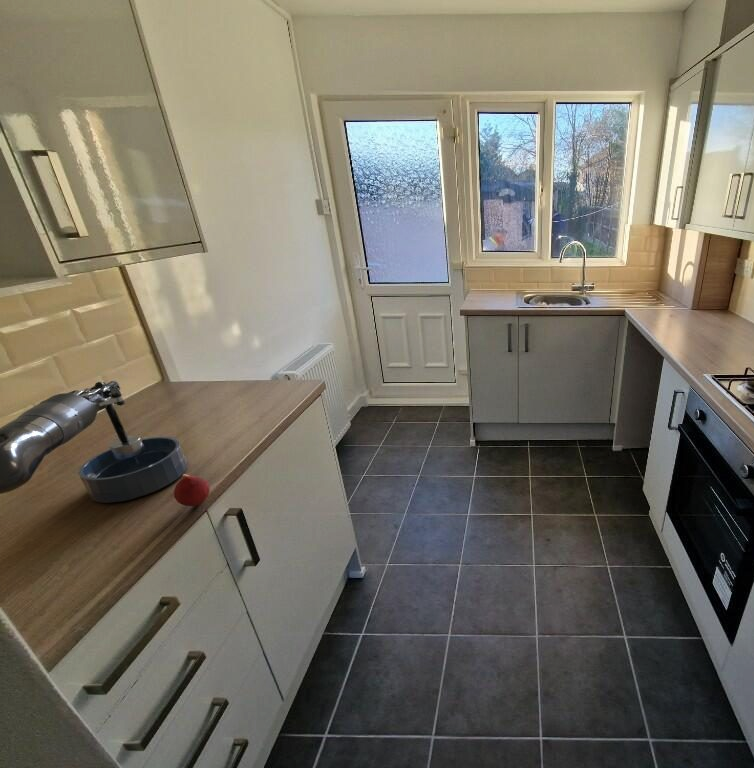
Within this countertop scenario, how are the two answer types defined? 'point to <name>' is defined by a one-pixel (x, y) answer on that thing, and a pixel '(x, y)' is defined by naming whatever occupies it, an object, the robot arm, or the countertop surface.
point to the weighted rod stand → (122, 435)
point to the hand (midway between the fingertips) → (110, 385)
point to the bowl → (133, 471)
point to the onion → (191, 490)
